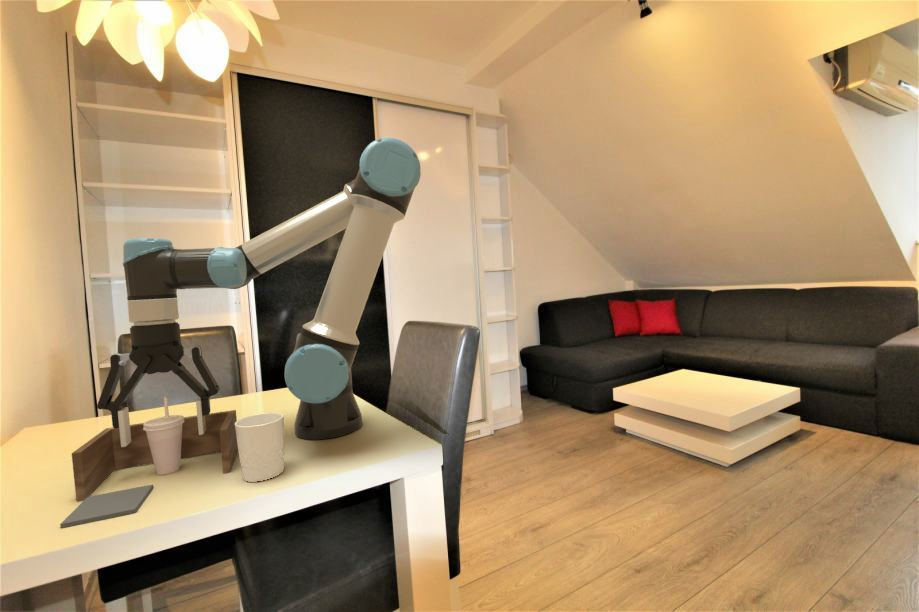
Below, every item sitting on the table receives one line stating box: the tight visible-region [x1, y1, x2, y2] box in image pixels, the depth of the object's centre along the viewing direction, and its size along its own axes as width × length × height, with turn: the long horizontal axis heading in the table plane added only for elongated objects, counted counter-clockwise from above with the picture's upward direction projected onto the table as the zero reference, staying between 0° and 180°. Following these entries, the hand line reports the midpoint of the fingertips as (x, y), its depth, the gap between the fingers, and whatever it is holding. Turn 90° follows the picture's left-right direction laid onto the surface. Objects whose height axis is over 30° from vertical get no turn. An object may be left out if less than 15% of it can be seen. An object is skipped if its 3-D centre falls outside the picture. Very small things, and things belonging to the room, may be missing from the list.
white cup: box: [235, 412, 285, 483], centre depth 76 cm, size 8×8×10 cm
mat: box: [59, 484, 154, 529], centre depth 67 cm, size 9×9×1 cm
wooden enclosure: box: [71, 409, 238, 502], centre depth 80 cm, size 22×14×8 cm, turn 112°
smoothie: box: [143, 395, 185, 476], centre depth 80 cm, size 6×6×14 cm
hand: (165, 438), depth 80 cm, fingers open, 11 cm apart
